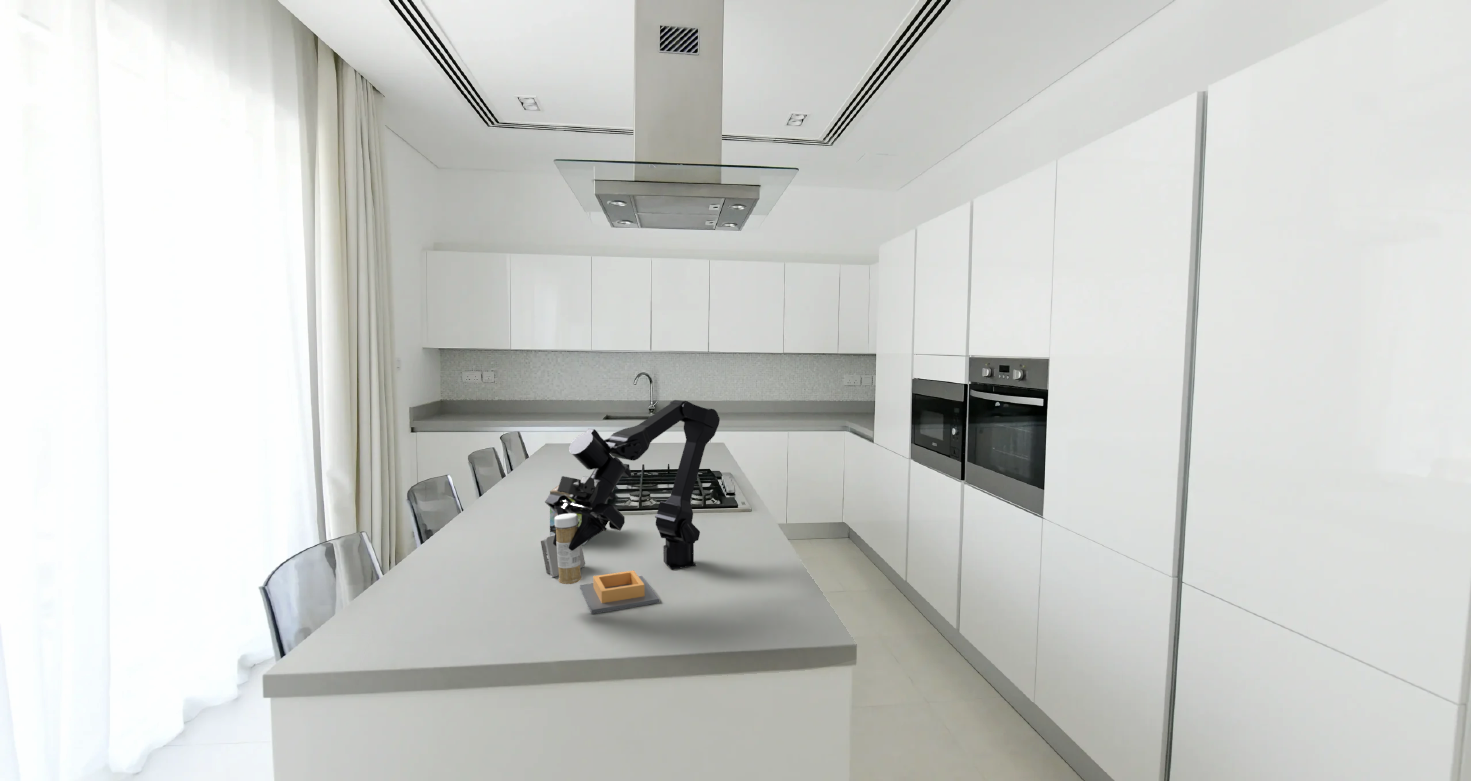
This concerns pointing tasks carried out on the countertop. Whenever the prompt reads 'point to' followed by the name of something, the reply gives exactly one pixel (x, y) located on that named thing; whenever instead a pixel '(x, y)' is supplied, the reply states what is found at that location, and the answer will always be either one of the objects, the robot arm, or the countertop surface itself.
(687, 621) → the countertop surface
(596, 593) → the socket
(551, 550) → the electrical switch
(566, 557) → the sprinkles bottle
